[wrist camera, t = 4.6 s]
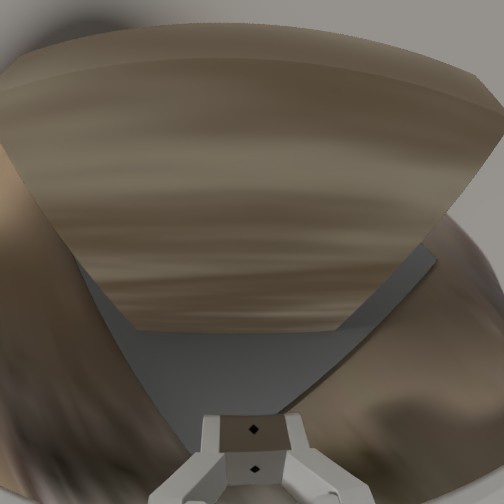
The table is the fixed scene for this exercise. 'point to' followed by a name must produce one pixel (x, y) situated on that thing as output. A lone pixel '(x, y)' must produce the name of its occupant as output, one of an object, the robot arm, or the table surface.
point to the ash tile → (242, 166)
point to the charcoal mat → (244, 357)
